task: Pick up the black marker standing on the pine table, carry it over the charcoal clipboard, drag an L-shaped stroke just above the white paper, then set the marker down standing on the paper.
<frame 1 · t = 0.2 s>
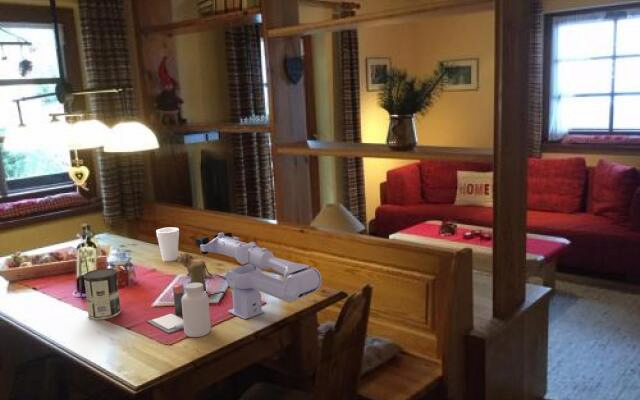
hand: (205, 239, 198), 21 cm above the table, tool horizontal, fingers open, 7 cm apart
marker: (180, 313, 189), on the table
foam cup: (169, 259, 249), on the table
brown upright piece: (198, 293, 208), on the table
pill bottle: (197, 332, 174), on the table
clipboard: (170, 323, 181), on the table
lion figurine: (194, 275, 227), on the table
coffee can: (104, 314, 190), on the table
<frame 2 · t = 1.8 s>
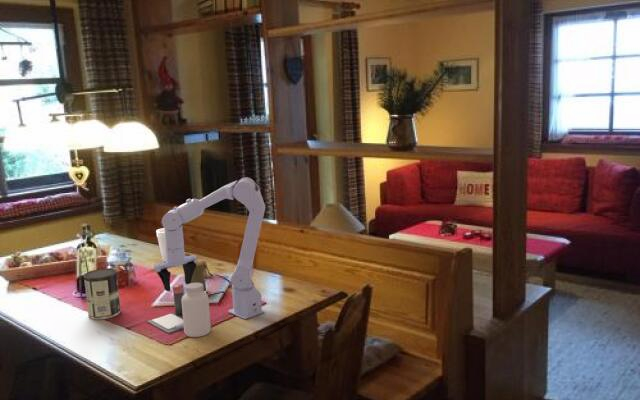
hand: (177, 287, 187), 9 cm above the table, tool pointing down, fingers open, 7 cm apart
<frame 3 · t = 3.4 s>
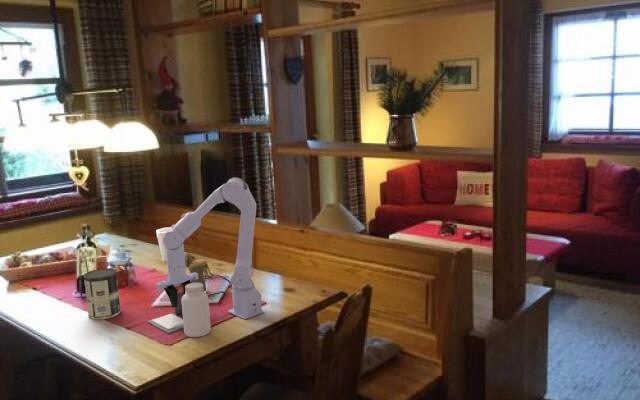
hand: (179, 305, 188), 3 cm above the table, tool pointing down, fingers closed on marker, 3 cm apart
marker: (180, 313, 189), on the table, touching gripper
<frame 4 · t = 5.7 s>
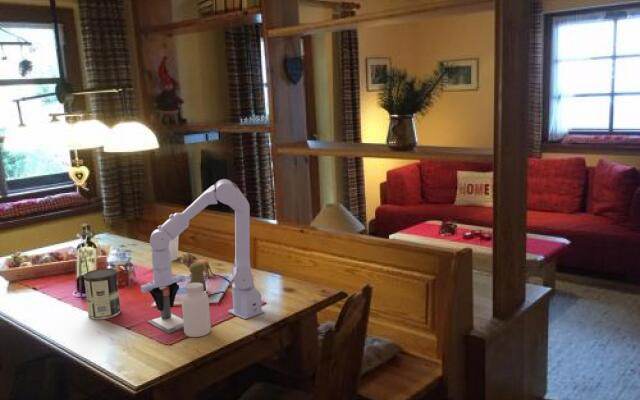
hand: (165, 308, 183), 4 cm above the table, tool pointing down, fingers closed on marker, 3 cm apart
marker: (166, 316, 183), point 1 cm above the table, touching gripper
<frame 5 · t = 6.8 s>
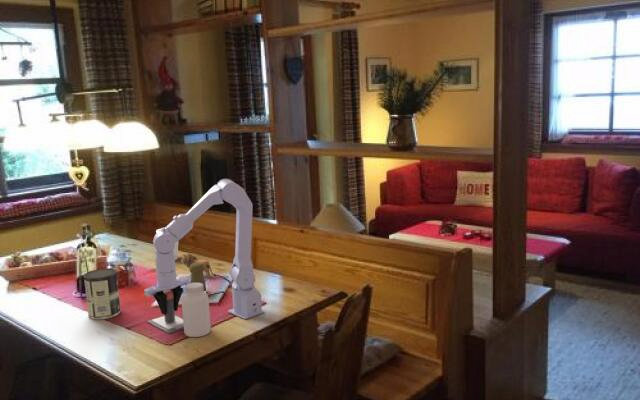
hand: (169, 311, 179), 4 cm above the table, tool pointing down, fingers closed on marker, 3 cm apart
marker: (170, 320, 180), point 1 cm above the table, touching gripper
when the fingers open (4 cm above the table, at t = 7.8 s): marker stays where it is, resting on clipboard.
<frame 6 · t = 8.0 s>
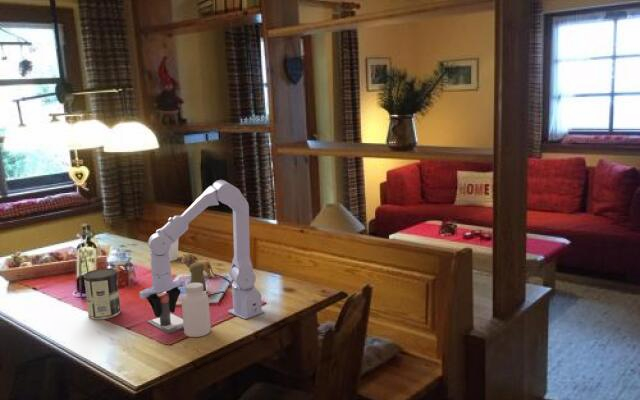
hand: (164, 314, 178), 4 cm above the table, tool pointing down, fingers open, 4 cm apart
marker: (165, 323, 179), point 1 cm above the table, touching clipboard
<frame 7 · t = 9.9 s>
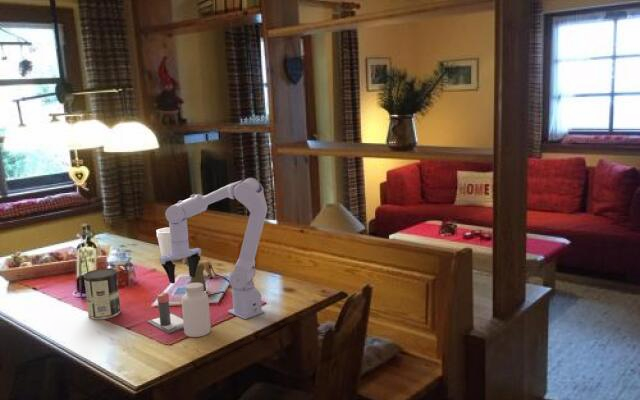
hand: (182, 279, 190), 10 cm above the table, tool pointing down, fingers open, 7 cm apart
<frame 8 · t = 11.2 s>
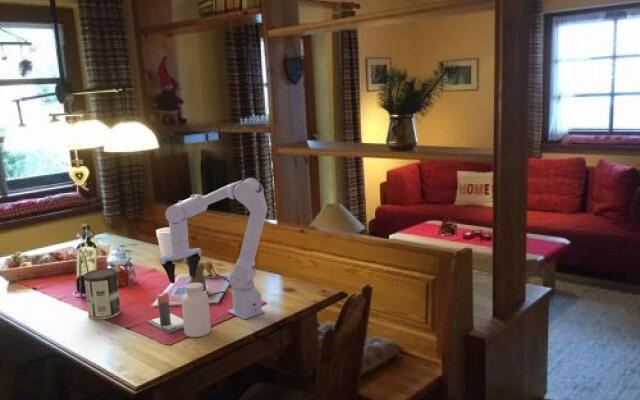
hand: (182, 279, 190), 10 cm above the table, tool pointing down, fingers open, 7 cm apart
at the end: marker inside the target area on the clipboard (2.1 cm from its centre), point 0.7 cm above the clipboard's base; marker moved 10.1 cm from its start; the gripper is holding nothing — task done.
